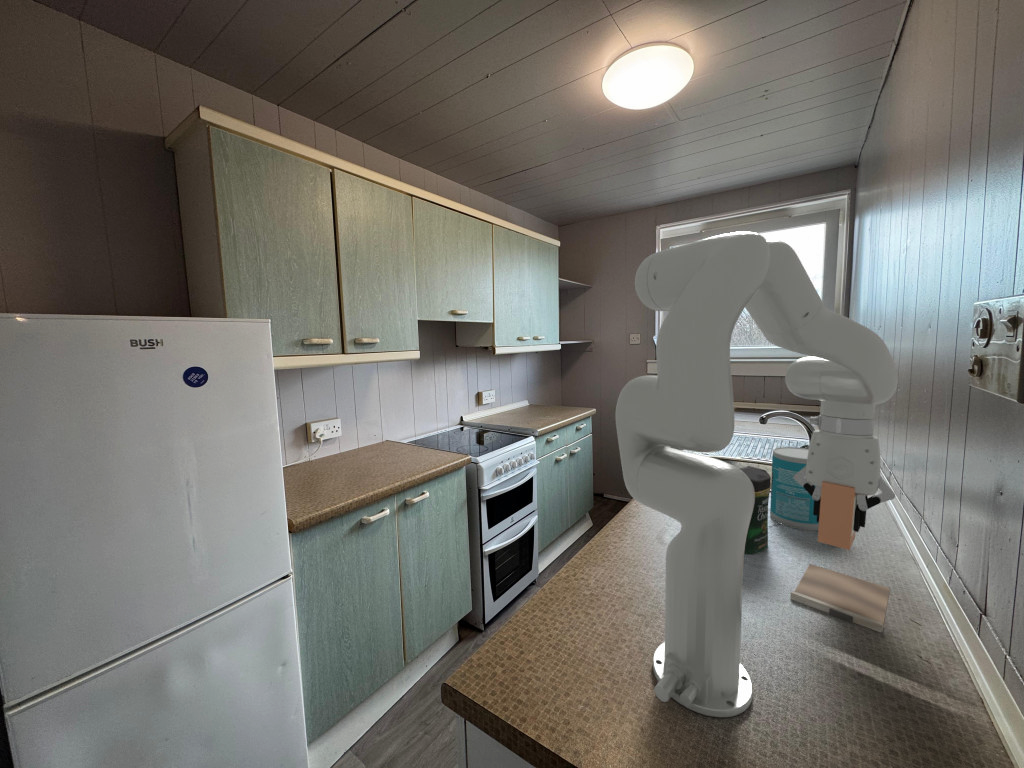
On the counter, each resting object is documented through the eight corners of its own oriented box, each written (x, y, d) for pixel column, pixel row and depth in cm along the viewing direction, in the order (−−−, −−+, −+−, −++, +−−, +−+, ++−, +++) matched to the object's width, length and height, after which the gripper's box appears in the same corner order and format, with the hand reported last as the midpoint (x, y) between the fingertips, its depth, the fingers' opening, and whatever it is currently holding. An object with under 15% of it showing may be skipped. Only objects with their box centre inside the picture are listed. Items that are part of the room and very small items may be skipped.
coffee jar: (751, 563, 85) (754, 478, 83) (715, 547, 92) (717, 468, 90) (774, 550, 90) (777, 469, 88) (739, 536, 97) (741, 461, 95)
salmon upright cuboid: (855, 537, 75) (860, 480, 74) (850, 550, 70) (855, 488, 69) (824, 529, 78) (828, 474, 77) (817, 541, 73) (821, 482, 72)
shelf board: (881, 640, 63) (882, 626, 63) (789, 605, 71) (790, 593, 71) (889, 594, 74) (890, 582, 74) (809, 569, 83) (810, 558, 82)
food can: (761, 510, 111) (763, 446, 110) (808, 511, 110) (811, 446, 108) (785, 530, 100) (788, 459, 98) (838, 531, 98) (842, 459, 96)
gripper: (784, 422, 76) (778, 516, 77) (910, 436, 64) (900, 548, 65) (794, 418, 81) (788, 506, 82) (912, 430, 69) (903, 533, 70)
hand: (838, 523), depth 74 cm, fingers closed on salmon upright cuboid, 4 cm apart
